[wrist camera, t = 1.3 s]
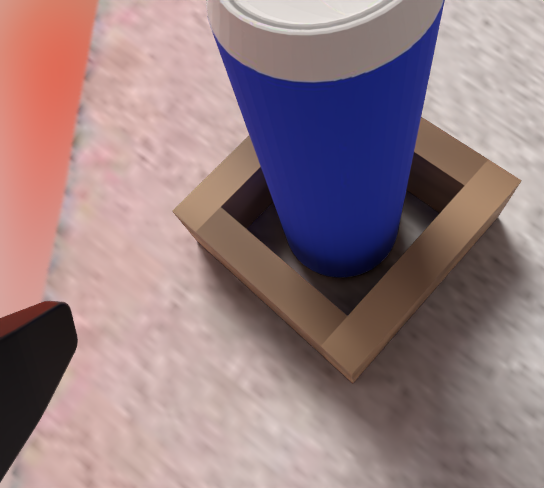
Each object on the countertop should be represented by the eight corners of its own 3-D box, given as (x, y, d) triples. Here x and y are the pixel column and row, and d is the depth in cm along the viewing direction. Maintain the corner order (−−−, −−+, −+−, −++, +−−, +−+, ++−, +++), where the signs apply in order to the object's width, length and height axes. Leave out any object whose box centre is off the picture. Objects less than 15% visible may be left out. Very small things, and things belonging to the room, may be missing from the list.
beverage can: (420, 220, 23) (512, -94, 9) (349, 304, 22) (337, 94, 9) (333, 161, 25) (304, -175, 11) (265, 237, 24) (142, -26, 10)
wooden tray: (352, 383, 21) (352, 374, 18) (196, 240, 25) (172, 211, 22) (498, 216, 23) (521, 180, 20) (331, 104, 26) (328, 57, 23)
